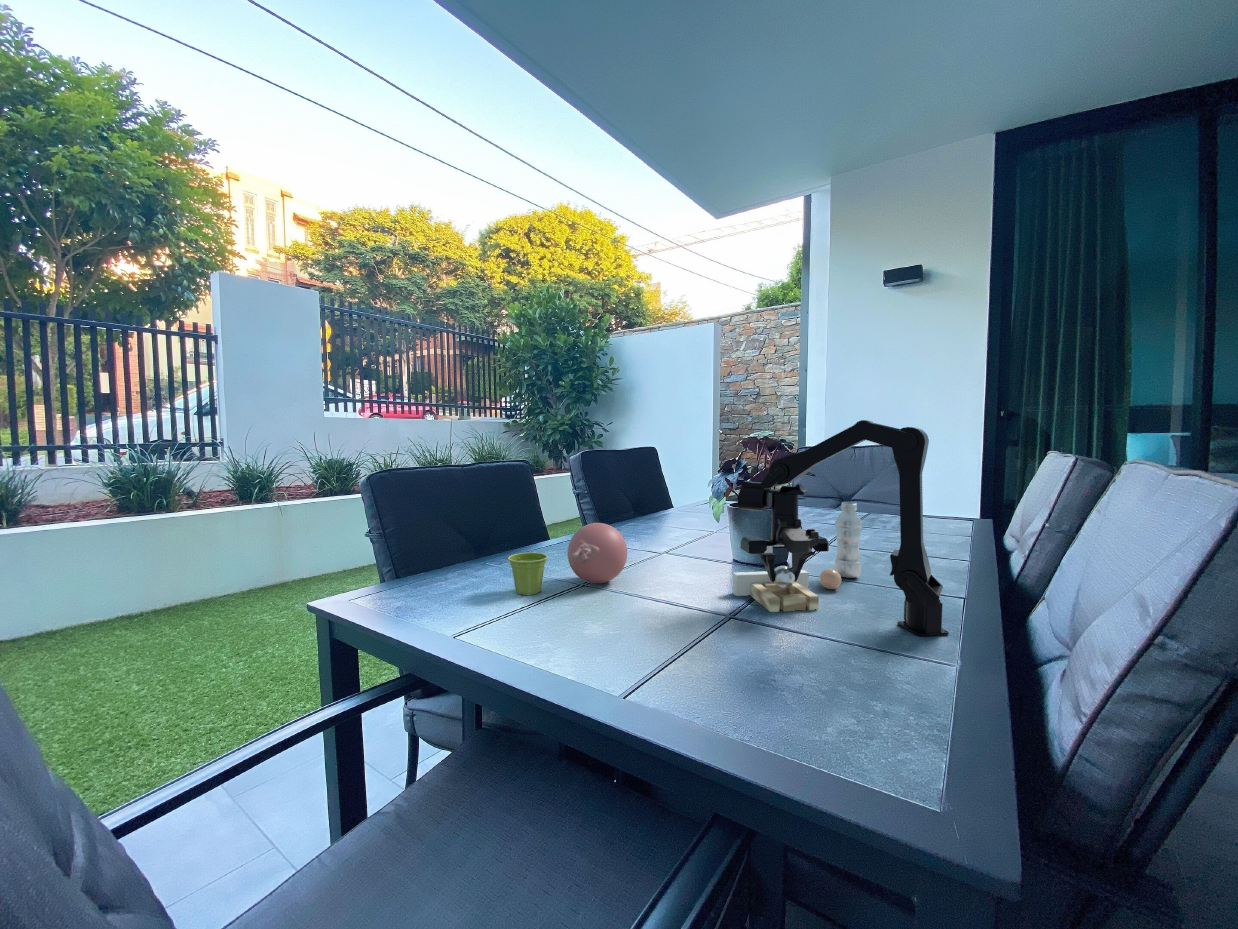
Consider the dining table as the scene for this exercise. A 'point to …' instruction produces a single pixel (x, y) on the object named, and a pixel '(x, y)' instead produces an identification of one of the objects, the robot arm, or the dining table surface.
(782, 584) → the steel ball
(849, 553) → the plastic bottle
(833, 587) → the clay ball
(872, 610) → the dining table surface
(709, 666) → the dining table surface
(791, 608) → the beech collar
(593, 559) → the pink ball
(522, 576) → the plant pot
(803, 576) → the stop block
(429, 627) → the dining table surface
